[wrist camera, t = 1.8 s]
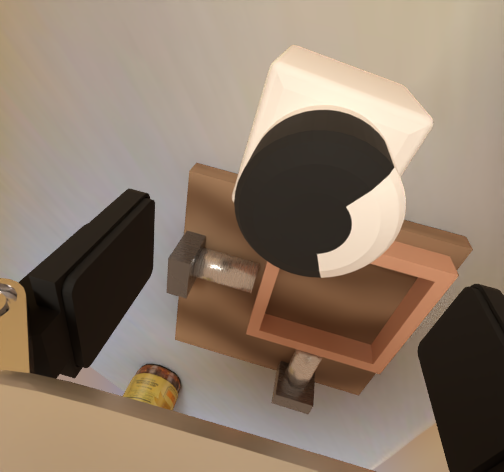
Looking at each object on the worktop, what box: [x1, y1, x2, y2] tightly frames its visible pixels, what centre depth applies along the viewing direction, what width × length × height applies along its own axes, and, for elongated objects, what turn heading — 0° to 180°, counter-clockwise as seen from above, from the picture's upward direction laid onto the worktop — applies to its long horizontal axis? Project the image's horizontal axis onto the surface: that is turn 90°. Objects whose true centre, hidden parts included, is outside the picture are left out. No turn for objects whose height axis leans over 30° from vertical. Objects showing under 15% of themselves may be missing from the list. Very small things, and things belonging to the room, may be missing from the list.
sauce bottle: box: [123, 364, 180, 411], centre depth 35 cm, size 6×6×20 cm
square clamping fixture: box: [167, 163, 473, 414], centre depth 28 cm, size 20×20×5 cm
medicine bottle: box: [232, 45, 433, 278], centre depth 16 cm, size 7×7×12 cm
